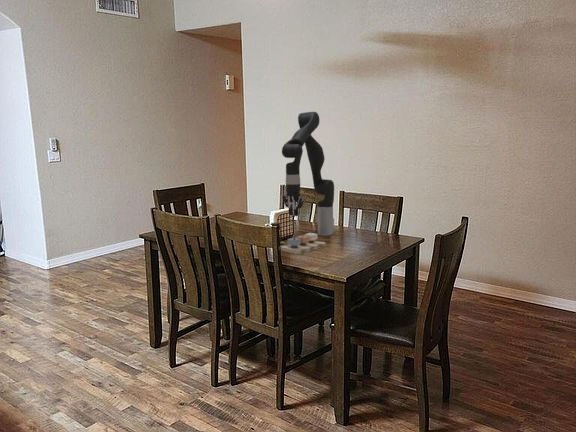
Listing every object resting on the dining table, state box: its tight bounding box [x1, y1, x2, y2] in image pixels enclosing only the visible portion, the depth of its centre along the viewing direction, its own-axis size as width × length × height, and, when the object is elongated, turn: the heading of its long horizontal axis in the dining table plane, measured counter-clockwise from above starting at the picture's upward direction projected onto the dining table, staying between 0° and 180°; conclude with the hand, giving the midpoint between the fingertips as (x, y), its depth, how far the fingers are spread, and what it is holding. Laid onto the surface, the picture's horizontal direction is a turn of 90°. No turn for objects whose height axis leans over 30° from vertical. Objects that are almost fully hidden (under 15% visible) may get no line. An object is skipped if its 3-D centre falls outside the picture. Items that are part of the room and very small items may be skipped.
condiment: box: [270, 221, 286, 246], centre depth 281 cm, size 7×8×12 cm
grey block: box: [287, 237, 301, 246], centre depth 264 cm, size 5×5×3 cm
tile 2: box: [295, 234, 309, 243], centre depth 270 cm, size 5×5×3 cm
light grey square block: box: [304, 232, 319, 241], centre depth 275 cm, size 5×5×3 cm
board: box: [280, 240, 327, 255], centre depth 270 cm, size 22×14×4 cm, turn 138°
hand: (293, 215), depth 262 cm, fingers open, 3 cm apart
